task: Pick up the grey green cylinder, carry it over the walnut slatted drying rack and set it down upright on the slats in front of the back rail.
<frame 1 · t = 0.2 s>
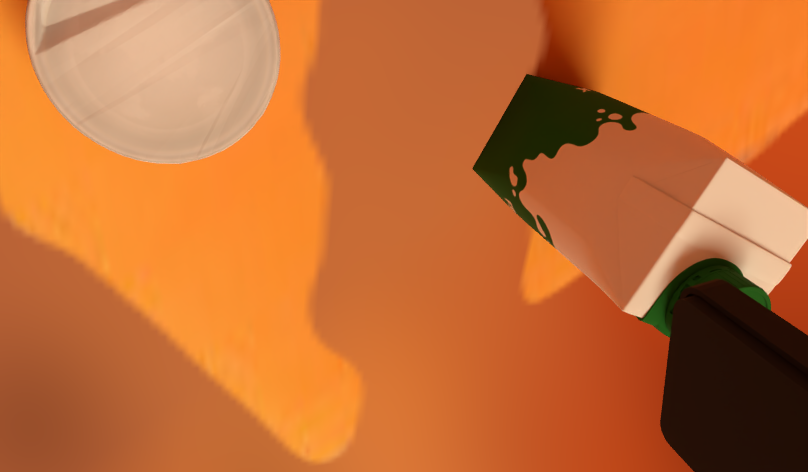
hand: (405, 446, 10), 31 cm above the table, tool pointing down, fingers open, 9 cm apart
ramekin: (162, 30, 35), on the table
milk carton: (535, 140, 45), on the table
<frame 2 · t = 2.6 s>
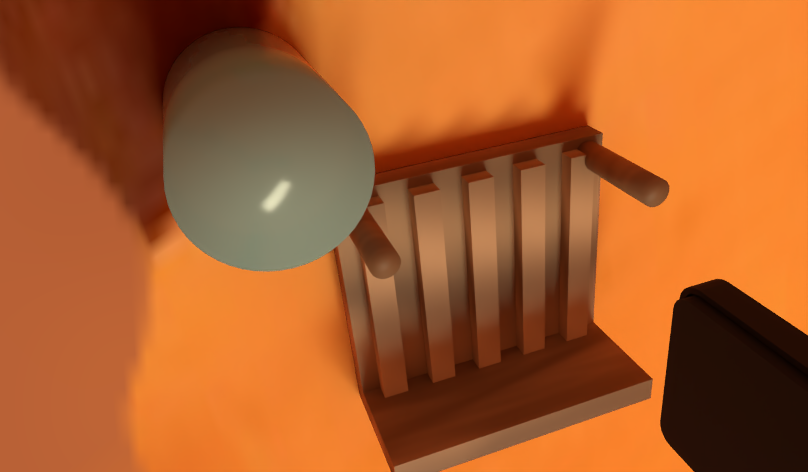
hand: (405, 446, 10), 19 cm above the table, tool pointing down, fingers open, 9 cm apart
rack: (469, 266, 32), on the table
grey green cylinder: (244, 106, 25), on the table
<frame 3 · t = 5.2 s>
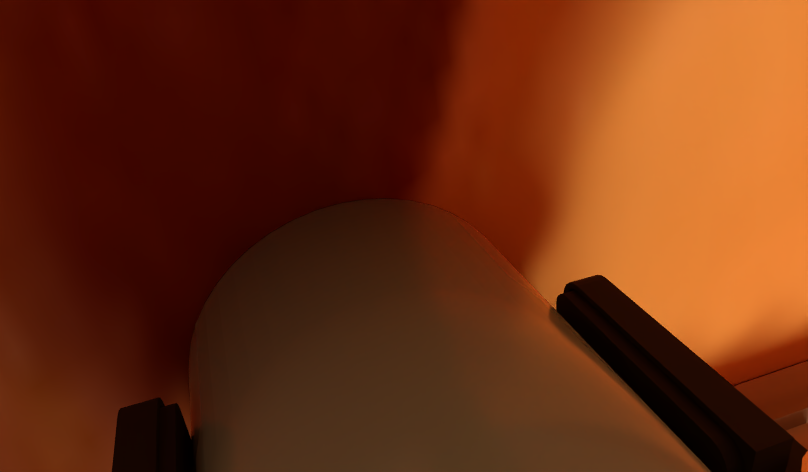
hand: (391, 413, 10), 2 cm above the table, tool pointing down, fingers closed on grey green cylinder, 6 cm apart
grey green cylinder: (364, 353, 12), on the table, touching gripper
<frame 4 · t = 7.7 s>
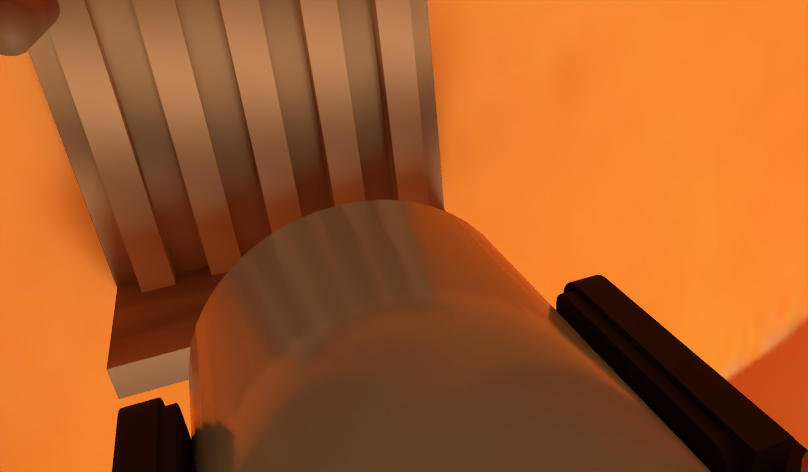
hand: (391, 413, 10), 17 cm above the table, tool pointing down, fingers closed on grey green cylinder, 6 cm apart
rack: (261, 121, 24), on the table
grey green cylinder: (365, 355, 12), point 15 cm above the table, touching gripper
when the fingers open (5 cm above the table, at t = 10.5 s): grey green cylinder drops 1 cm, resting on rack.
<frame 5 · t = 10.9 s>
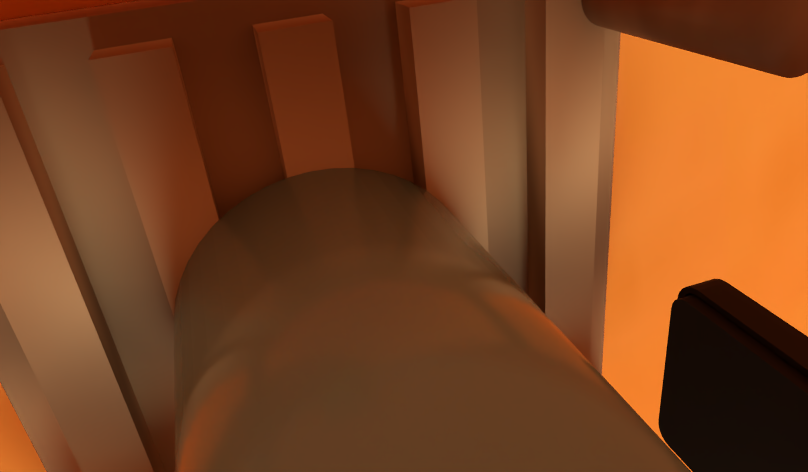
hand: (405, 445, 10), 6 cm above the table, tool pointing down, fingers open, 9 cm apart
rack: (325, 264, 15), on the table
grey green cylinder: (335, 311, 13), point 2 cm above the table, touching rack
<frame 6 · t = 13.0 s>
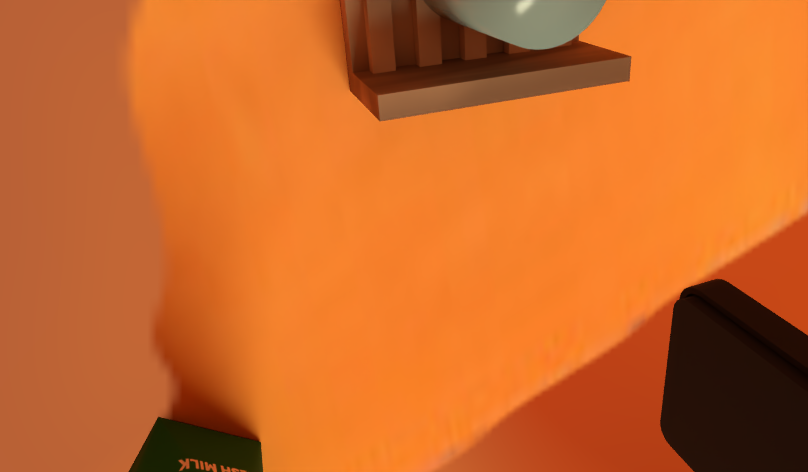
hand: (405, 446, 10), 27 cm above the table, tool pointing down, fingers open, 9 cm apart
milk carton: (188, 467, 43), on the table
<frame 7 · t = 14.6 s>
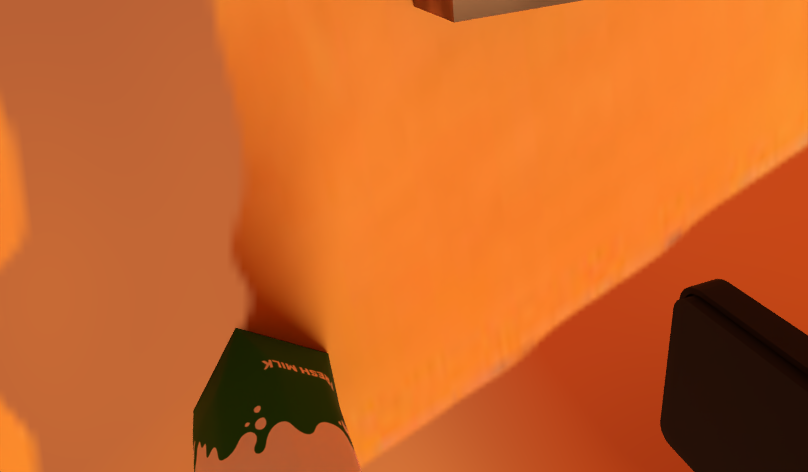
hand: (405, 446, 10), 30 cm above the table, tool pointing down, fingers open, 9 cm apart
milk carton: (261, 378, 45), on the table
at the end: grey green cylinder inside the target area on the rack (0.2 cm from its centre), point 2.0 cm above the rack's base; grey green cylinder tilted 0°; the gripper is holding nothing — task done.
